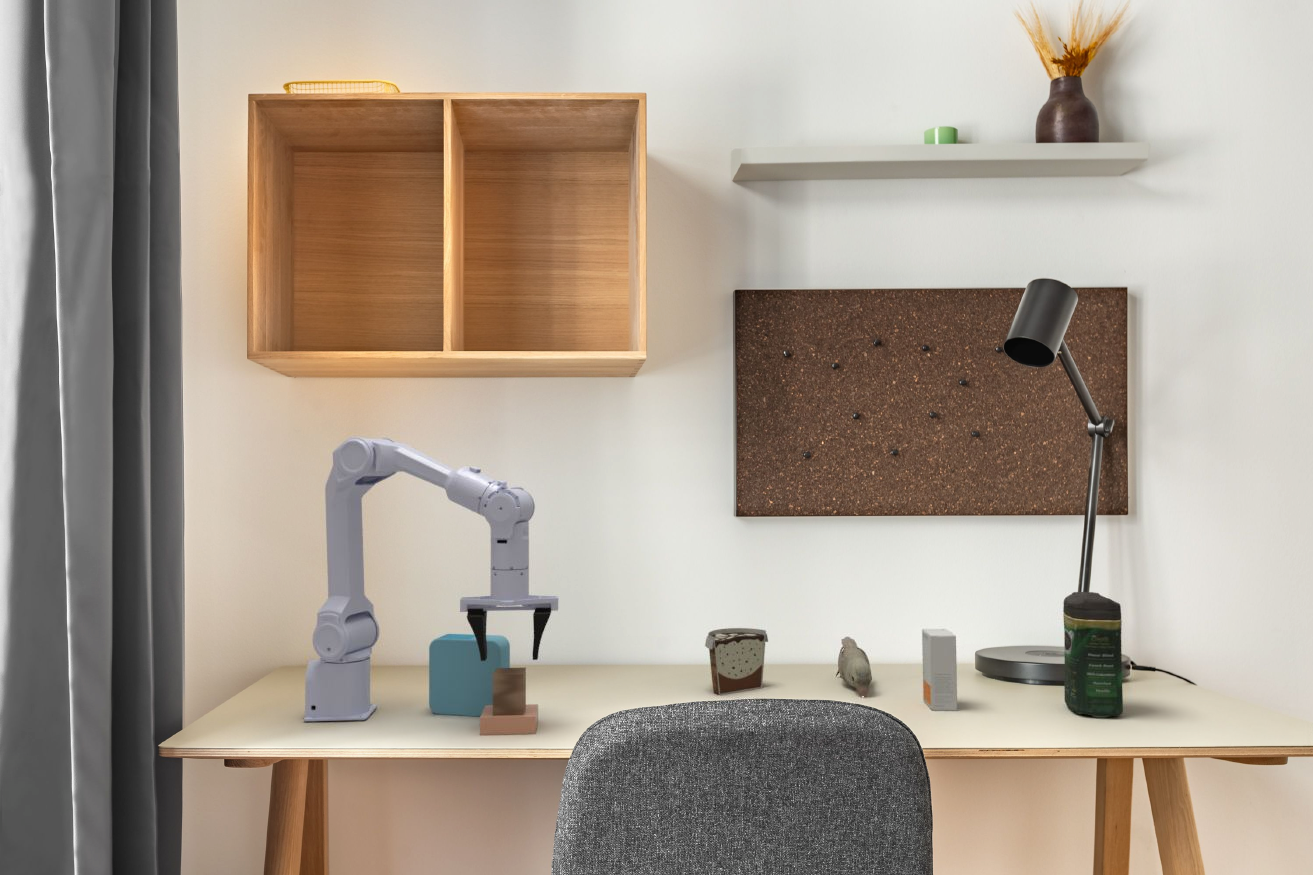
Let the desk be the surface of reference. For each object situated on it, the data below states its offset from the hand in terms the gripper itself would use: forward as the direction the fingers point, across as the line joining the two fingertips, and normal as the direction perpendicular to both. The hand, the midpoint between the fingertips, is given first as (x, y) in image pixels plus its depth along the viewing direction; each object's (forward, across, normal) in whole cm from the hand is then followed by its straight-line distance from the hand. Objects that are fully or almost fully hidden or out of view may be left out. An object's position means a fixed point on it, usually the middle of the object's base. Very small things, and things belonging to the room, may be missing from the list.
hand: (509, 658), depth 139 cm
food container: (+10, +36, +22) cm, 44 cm away
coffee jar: (+10, +92, +2) cm, 92 cm away
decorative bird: (+11, +59, +21) cm, 63 cm away
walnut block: (+8, 0, 0) cm, 8 cm away
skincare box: (+10, +68, +6) cm, 70 cm away
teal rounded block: (+10, -7, +10) cm, 16 cm away
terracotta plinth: (+10, 0, 0) cm, 10 cm away
